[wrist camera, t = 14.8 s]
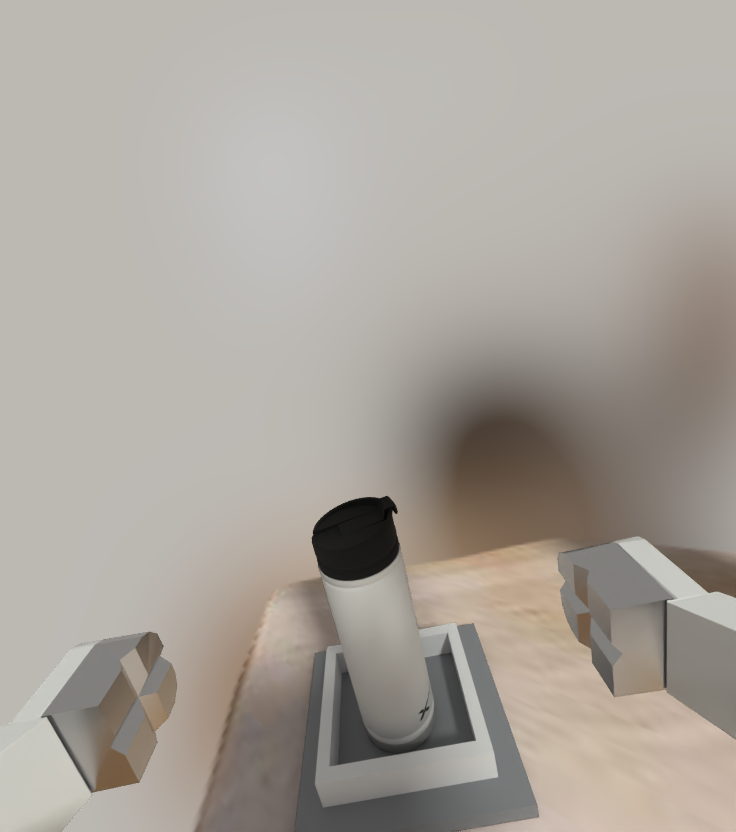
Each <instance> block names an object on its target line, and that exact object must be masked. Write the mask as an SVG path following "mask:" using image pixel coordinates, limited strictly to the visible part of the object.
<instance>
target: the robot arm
mask: <svg viewBox="0 0 736 832" xmlns="http://www.w3.org/2000/svg"><path fill="white" fill-rule="evenodd" d="M558 570H559V572H560V573H561V575H562V576H563V578H564V579H565V583H564V585H563V586H562V588H561V589H560V592H561V600H562V606H563V609H564V612H565V615H566V619H567V621H568V623H569V625H570V627H571V629H572V631H573V633H574V634H575V636H576V638H577V639H578V641H579V642H580V643H582V644H584V645H585V646H587V647H589V648H591V652H592V663H593V665H594V666H595V668H596V669H597V671H598V672H599V674H600V675H601V677H602V679H603V680H604V682H605V683H606V685H607V686H608V688H609V689H610V691H611V692H612V694H613V696H614V697H619V696H626V695H633V694H639V693H646V692H653V691H660V690H667V693H668V694H670V695H671V696H673V697H674V698H676V699H677V700H679V701H680V702H682V703H683V704H684V705H686V706H687V707H689V708H690V709H692V710H693V711H695V712H696V713H698V714H699V715H701V716H702V717H704V718H705V719H706V720H708V721H709V722H711V723H712V724H714V725H715V726H717V727H718V728H720V729H721V730H723V731H724V732H726V733H727V734H728V735H730V736H731V737H733V738H734V739H736V598H734V597H732V596H729V595H726V594H723V593H720V592H712V593H708V592H707V591H706V590H704V589H703V588H702V587H701V586H700V585H699V584H697V583H696V582H695V581H694V580H693V579H691V578H690V577H689V576H688V575H687V574H685V573H684V572H683V571H682V570H681V569H680V568H678V567H677V566H676V565H675V564H674V563H672V562H671V561H670V560H669V559H668V558H667V557H665V556H664V555H663V554H662V553H661V552H659V551H658V550H657V549H656V548H655V547H654V546H652V545H651V544H650V543H649V542H648V541H646V540H645V539H644V538H641V537H638V536H635V537H631V538H627V539H622V540H617V541H612V542H611V543H606V544H601V545H596V546H591V547H586V548H581V549H576V550H571V551H566V552H561V553H559V556H558ZM162 649H163V644H162V642H161V640H160V638H159V636H158V634H156V633H152V632H146V633H139V634H133V635H127V636H121V637H115V638H109V639H104V640H101V641H94V642H88V643H83V644H79V645H77V646H75V647H73V648H72V649H70V650H69V652H68V653H67V654H66V655H65V656H64V658H63V659H62V660H61V661H60V663H59V664H58V665H57V666H56V667H55V669H54V670H53V671H52V672H51V674H50V675H49V676H48V677H47V679H46V680H45V681H44V682H43V683H42V685H41V686H40V687H39V689H38V690H37V691H36V692H35V693H34V695H33V696H32V697H31V698H30V699H29V701H28V702H27V703H26V704H25V706H24V707H23V708H22V709H21V711H20V712H19V713H18V714H17V715H16V717H15V718H14V719H13V720H12V722H11V723H10V724H7V725H2V726H0V832H61V831H62V830H63V829H64V828H65V827H66V825H68V823H69V822H70V821H71V820H72V819H73V817H74V816H75V815H76V814H77V813H78V812H79V811H80V809H81V808H82V807H83V806H84V805H85V804H86V802H87V801H88V800H89V799H90V798H91V797H92V792H97V791H102V790H106V789H111V788H116V787H121V786H125V785H130V784H134V783H139V782H140V780H141V778H142V775H143V773H144V771H145V769H146V766H147V764H148V762H149V760H150V757H151V755H152V753H153V751H154V749H155V747H156V744H157V739H156V734H155V731H156V730H157V729H158V728H159V727H160V726H161V725H162V724H163V723H164V722H165V721H166V720H167V719H168V717H169V715H170V713H171V710H172V708H173V705H174V703H175V697H176V690H177V681H176V674H175V671H174V669H173V666H172V664H171V663H170V662H168V661H167V660H165V659H164V658H162V657H161V656H160V655H161V652H162Z"/></svg>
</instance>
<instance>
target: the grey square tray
mask: <svg viewBox="0 0 736 832" xmlns="http://www.w3.org/2000/svg"><path fill="white" fill-rule="evenodd" d="M419 634H420V639H421V643H422V648H423V653H424V657H425V662H426V666H427V671H428V676H429V680H430V685H431V689H432V694H433V698H434V703H435V709H436V720H435V724H434V727H433V729H432V731H431V733H430V735H429V736H428V738H427V739H426V740H425V741H424V742H423V743H422V744H421V745H420V746H418V747H416V748H415V749H413V750H410V751H408V752H403V753H391V752H388V751H384V750H382V749H380V748H379V747H377V746H376V745H375V744H374V743H373V742H372V741H371V740H370V738H369V737H368V735H367V732H366V730H365V726H364V723H363V720H362V716H361V713H360V709H359V706H358V702H357V699H356V695H355V692H354V688H353V685H352V682H351V678H350V675H349V671H348V668H347V664H346V661H345V657H344V654H343V651H342V647H341V644H339V645H334V646H329V647H327V651H324V652H319V653H315V661H314V669H313V678H312V686H311V695H310V703H309V712H308V720H307V729H306V737H305V746H304V754H303V763H302V771H301V780H300V788H299V797H298V805H297V814H296V822H295V831H294V832H454V831H460V830H466V829H472V828H478V827H483V826H489V825H495V824H501V823H507V822H513V821H519V820H525V819H531V818H536V817H539V814H538V807H537V803H536V800H535V797H534V794H533V792H532V789H531V786H530V783H529V780H528V777H527V774H526V772H525V769H524V766H523V763H522V760H521V757H520V754H519V752H518V749H517V746H516V743H515V740H514V737H513V734H512V732H511V729H510V726H509V723H508V720H507V717H506V714H505V712H504V709H503V706H502V703H501V700H500V697H499V694H498V692H497V689H496V686H495V683H494V680H493V677H492V674H491V672H490V669H489V666H488V663H487V660H486V657H485V654H484V652H483V649H482V646H481V643H480V640H479V637H478V634H477V632H476V629H475V626H474V623H472V624H467V625H462V626H456V623H450V624H445V625H440V626H434V627H429V628H424V629H419Z"/></svg>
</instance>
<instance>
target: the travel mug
mask: <svg viewBox="0 0 736 832" xmlns="http://www.w3.org/2000/svg"><path fill="white" fill-rule="evenodd" d="M392 511H394V512H395V514H397V512H398V511H397V508H396V505H395V504H394V502H393V501H392V500H391V499H390V498H389V497H388V496H385V497H383V498H375V497H365V498H359V499H354V500H351V501H348V502H345V503H343V504H341V505H339V506H337V507H335V508H334V509H332V510H330V511H329V512H328V513H326V514H325V515H324V516H323V517H322V518H321V519H320V520H319V521H318V522H317V523H316V525H315V527H314V530H313V536H312V544H313V547H314V551H315V554H316V557H317V562H318V568H319V571H320V573H321V578H322V582H323V585H324V589H325V592H326V595H327V599H328V602H329V606H330V609H331V613H332V616H333V620H334V623H335V626H336V630H337V633H338V637H339V640H340V644H341V647H342V651H343V654H344V657H345V661H346V664H347V668H348V671H349V675H350V678H351V682H352V685H353V688H354V692H355V695H356V699H357V702H358V706H359V709H360V713H361V716H362V720H363V723H364V726H365V730H366V732H367V735H368V737H369V738H370V740H371V741H372V742H373V743H374V744H375V745H376V746H377V747H379V748H380V749H382V750H384V751H388V752H391V753H403V752H408V751H410V750H413V749H415V748H416V747H418V746H420V745H421V744H422V743H423V742H424V741H425V740H426V739H427V738H428V736H429V735H430V733H431V731H432V729H433V727H434V724H435V720H436V709H435V703H434V698H433V694H432V689H431V685H430V680H429V676H428V671H427V666H426V662H425V657H424V653H423V648H422V643H421V639H420V634H419V630H418V625H417V621H416V616H415V611H414V607H413V602H412V598H411V593H410V588H409V584H408V579H407V575H406V570H405V566H404V561H403V557H402V552H401V548H400V543H399V542H398V537H397V534H396V529H395V525H394V522H393V517H392Z"/></svg>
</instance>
